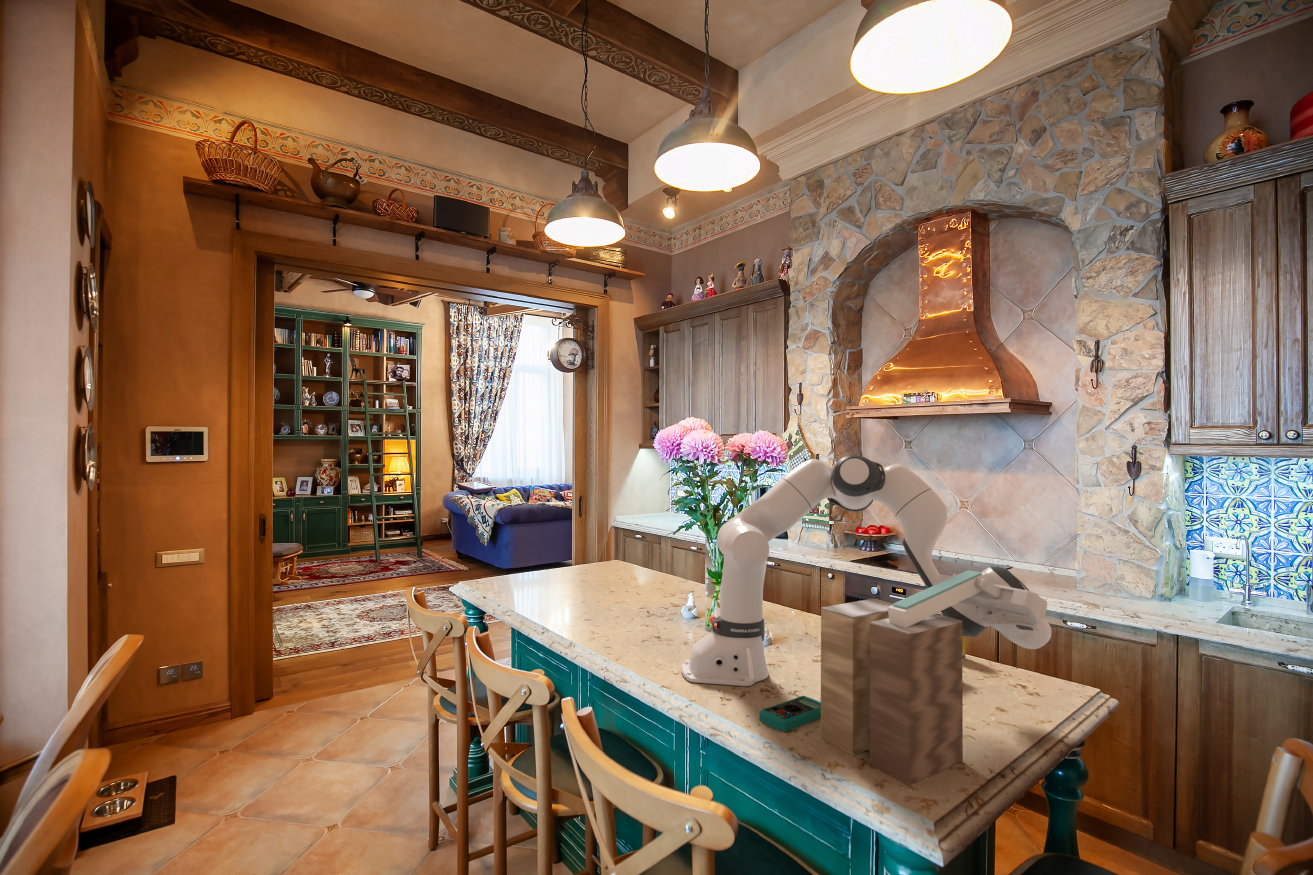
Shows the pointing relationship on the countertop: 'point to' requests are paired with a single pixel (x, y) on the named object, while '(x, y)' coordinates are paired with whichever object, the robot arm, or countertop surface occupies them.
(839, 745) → the oak post
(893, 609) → the bar
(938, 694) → the walnut post
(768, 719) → the digital multimeter
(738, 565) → the robot arm
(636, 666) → the countertop surface
